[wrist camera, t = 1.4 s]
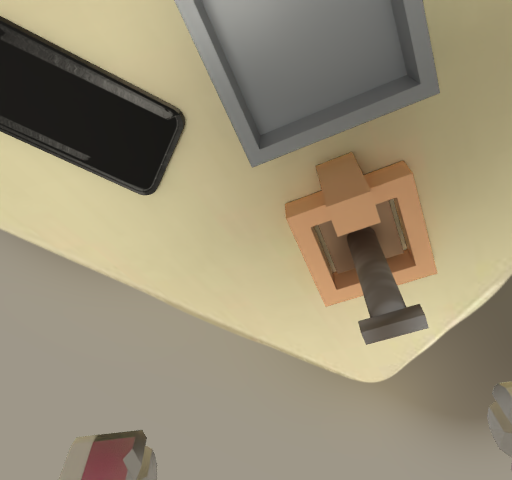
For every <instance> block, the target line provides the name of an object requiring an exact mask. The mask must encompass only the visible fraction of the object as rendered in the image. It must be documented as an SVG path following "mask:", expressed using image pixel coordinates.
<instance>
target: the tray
mask: <svg viewBox="0 0 512 480" xmlns="http://www.w3.org/2000/svg"><path fill="white" fill-rule="evenodd" d="M174 1H175V3H176V5H177V7H178V9H179V12H180V14H181V16H182V18H183V20H184V22H185V24H186V27H187V29H188V31H189V33H190V35H191V37H192V40H193V42H194V44H195V46H196V48H197V50H198V52H199V55H200V57H201V59H202V61H203V63H204V65H205V67H206V70H207V72H208V74H209V76H210V78H211V80H212V83H213V85H214V87H215V89H216V91H217V93H218V95H219V98H220V100H221V102H222V104H223V106H224V108H225V110H226V113H227V115H228V117H229V119H230V121H231V123H232V126H233V128H234V130H235V132H236V134H237V136H238V138H239V141H240V143H241V145H242V147H243V149H244V151H245V153H246V156H247V158H248V160H249V162H250V164H251V166H252V167H255V166H257V165H260V164H262V163H265V162H268V161H270V160H273V159H275V158H278V157H280V156H283V155H285V154H288V153H290V152H293V151H295V150H298V149H300V148H303V147H305V146H308V145H310V144H313V143H315V142H318V141H320V140H323V139H325V138H328V137H330V136H333V135H335V134H338V133H340V132H343V131H345V130H348V129H350V128H353V127H355V126H358V125H360V124H363V123H366V122H368V121H371V120H373V119H376V118H378V117H381V116H383V115H386V114H388V113H391V112H393V111H396V110H398V109H401V108H403V107H406V106H408V105H411V104H413V103H416V102H418V101H421V100H423V99H426V98H428V97H431V96H433V95H436V94H438V93H440V90H439V85H438V79H437V74H436V69H435V63H434V58H433V53H432V48H431V42H430V37H429V32H428V26H427V21H426V16H425V11H424V5H423V0H174Z"/></svg>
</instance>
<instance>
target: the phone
mask: <svg viewBox="0 0 512 480" xmlns="http://www.w3.org/2000/svg"><path fill="white" fill-rule="evenodd" d="M184 125H185V118H184V116H183V113H182V112H181V111H180V110H179V109H178V108H177V107H175V106H173V105H171V104H169V103H167V102H165V101H163V100H161V99H159V98H158V97H156V96H154V95H152V94H150V93H148V92H146V91H144V90H142V89H140V88H138V87H136V86H134V85H132V84H130V83H129V82H127V81H125V80H123V79H121V78H119V77H117V76H115V75H113V74H111V73H109V72H107V71H105V70H103V69H101V68H99V67H98V66H96V65H94V64H92V63H90V62H88V61H86V60H84V59H82V58H80V57H78V56H76V55H74V54H72V53H70V52H69V51H67V50H65V49H63V48H61V47H59V46H57V45H55V44H53V43H51V42H49V41H47V40H45V39H43V38H41V37H39V36H38V35H36V34H34V33H32V32H30V31H28V30H26V29H24V28H22V27H20V26H18V25H16V24H14V23H12V22H10V21H9V20H7V19H5V18H3V17H1V16H0V131H1V132H3V133H5V134H8V135H10V136H12V137H14V138H16V139H19V140H21V141H23V142H25V143H28V144H30V145H32V146H34V147H36V148H39V149H41V150H43V151H45V152H47V153H50V154H52V155H54V156H56V157H58V158H61V159H63V160H65V161H67V162H69V163H72V164H74V165H76V166H78V167H81V168H83V169H85V170H87V171H89V172H92V173H94V174H96V175H98V176H100V177H103V178H105V179H107V180H109V181H111V182H114V183H116V184H118V185H120V186H122V187H125V188H127V189H129V190H131V191H133V192H136V193H138V194H141V195H150V194H152V193H154V192H155V191H156V189H157V187H158V185H159V183H160V181H161V179H162V176H163V174H164V172H165V170H166V167H167V165H168V163H169V161H170V158H171V156H172V154H173V151H174V149H175V147H176V145H177V142H178V140H179V138H180V135H181V133H182V131H183V129H184Z"/></svg>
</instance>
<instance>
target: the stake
mask: <svg viewBox="0 0 512 480" xmlns="http://www.w3.org/2000/svg"><path fill="white" fill-rule="evenodd" d="M376 208H377V212H378V215H379V218H380V221H381V222H380V223H378V224H375V225H372V226H369V227H366V228H363V229H360V230H357V231H354V232H351V233H348V234H345V235H342V236H339V237H337V234H336V231H335V229H334V226H333V224H332V221H331V220H330V221H327V222H324V223H322V224H319V225H318V226H319V229H320V231H321V234H322V236H323V238H324V241H325V243H326V246H327V248H328V251H329V253H330V256H331V258H332V261H333V263H334V265H335V268H336V270H337V273H338V274H339V273H342V272H346V271H349V270H352V269H355V268H356V271H357V275H358V278H359V281H360V285H361V288H362V291H363V294H364V298H365V301H366V304H367V308H368V311H369V314H370V318H368V319H365V320H361V321H358V323H359V327H360V330H361V334H362V336H363V338H364V341H365V343H366V345H367V344H371V343H375V342H378V341H382V340H386V339H389V338H393V337H397V336H401V335H404V334H408V333H412V332H415V331H419V330H423V329H427V328H428V324H427V321H426V317H425V314H424V312H423V310H422V308H421V306H420V304H417V305H414V306H410V307H407V308H406V305H405V303H404V301H403V298H402V296H401V294H400V291H399V289H398V286H397V284H396V282H395V279H394V277H393V275H392V272H391V270H390V267H389V265H388V263H387V260H386V259H387V258H390V257H393V256H396V255H399V254H403V253H404V251H403V248H402V244H401V241H400V238H399V234H398V231H397V227H396V224H395V220H394V217H393V214H392V210H391V207H390V203H389V200H388V201H385V202H382V203H379V204H376Z"/></svg>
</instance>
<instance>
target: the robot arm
mask: <svg viewBox="0 0 512 480" xmlns="http://www.w3.org/2000/svg"><path fill="white" fill-rule="evenodd" d="M492 394H493V396H494V398H495V399H496V401H495V402H494V403H493V404H491V405H490V406H489V410H488V415H487V417H488V422H489V428H490V430H491V433H492V435H493V438H494V440H495V442H496V443H497V445H498V447H499V449H500V450H502V451H503V452H504V453H506V454H507V455H509V456H510V457H512V382H505V383H498V384H497V385H495V386H494V389H493V393H492ZM146 439H147V437H146V436H145V434H144V432H143V430H136V431H127V432H119V433H111V434H102V435H92V436H85V437H77V438H76V439H75V441H74V442H73V443H72V445H71V447H70V449H69V452H68V455H67V458H66V461H65V463H64V466H63V469H62V471H61V474H60V477H59V480H157V463H156V458H155V454H154V452H153V450H152V449H151V448H149V447H147V446H146ZM511 470H512V466H511Z"/></svg>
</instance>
